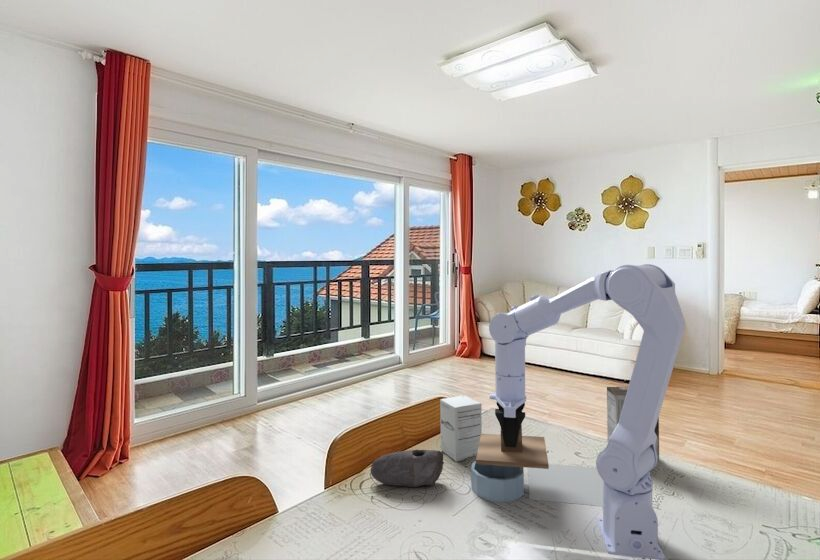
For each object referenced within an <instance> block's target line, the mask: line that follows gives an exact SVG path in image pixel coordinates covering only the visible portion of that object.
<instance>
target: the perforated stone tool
mask: <svg viewBox="0 0 820 560" xmlns="http://www.w3.org/2000/svg"><path fill="white" fill-rule="evenodd" d="M444 456H445V455H444V452H443V451H440V450H436V449H435V450H433V449H431V450H429V449H410V450H401V451H395V452H390V453H386V454H383V455H381V456H379V457H377V458H376V459H375V460H374V461H372V464H371V468H370V473H371V476H372V478H373V479H374V480H376V481H377V482H379V483H381V484H384V485H388V486H399V487H407V488H409V487H410V488H418V487H422V486H425V485H426V486H427V487H430V486H431V487H432V486H434V485H435V483H436V482H437V481H438V480H439V478H440V476H441V474H442V472H443V468H444V467H443V466H444V464H445V462H444Z"/></svg>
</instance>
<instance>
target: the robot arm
mask: <svg viewBox="0 0 820 560" xmlns="http://www.w3.org/2000/svg"><path fill="white" fill-rule="evenodd" d="M597 300H600V301H605V302H606V301H613V303H615V304H616V305H618V306H619V307H620V308H622V309H623V310H625V311H626V312H627V313H629V314H630V315H631V316H632V317H633V318H634V319H635V320H636V322H637V323H638V324H639V326H640V327H641V329H642V330H643V333H642V336H641V341H640V345H639V348H638V351H637V355H636V359H635V363H634V366H633V368H632V369H633V370H632V372H631V375H630V379H629V383H628V386H627V387H628V390H627V394H626V397H625V401H624V405H623V408H622V412H621V415H620V419H619V423H618V425H617V426H616V428H615V430H614V431H613V433H612V434H611V436H610V438H609V441H608V442H607V445H606V446H605V448H603V449H602V450H601V451H600V452H599V453H598V454H597V457H596V460H595V466H596V468H597V471H598V473H599V475H600V477H601V478H602V480H603V506H602V517H601V516H598V517H596V521H597V525H598V528H599V530H600V533H601V536H602V539H603V542H604V545H605V549H606V551H607V554H609V555H616V556H623V557H630V558H631V557H632V558H638V559H639V558H640V559H648V560H665V559H666V556H665V554H664V553H663V551H662V549H661V547H660V545H659V543H658V542H659V532H658V531H659V527H658V525H659V520H658V519H659V518H658V516H657V513H656V511H655V509H654V506H653V479H652V477H651V475H650V474H651V472H650V471H652V470H653V469H654V468H655V467H656V466H655V465H656V463H657V453H656V449H655V443H656V439H657V435H656V434H655V431H654V430H655V427H656V424H657V420H658V417H659V418H660V413H661V409H662V406H663V403H664V400H665V397H666V392H667V390H668V387H669V383H670V379H671V376H672V373H673V369H674V366H675V362H676V361H677V360H676V359H677V356H678V353H679V349H680V345H681V343H682V340H683V336H684V332H685V329H686V322H685V318H684V315H683V312H682V308H681V306H680V304H679V303H680V302H679V298H678V297H677V294H676V283H675V282H674V281H673V280H672V278H671V277H670V276H669V275H668V274H667V273H666V272H665V270H663V269H662V268H661V267H660V266H657V265H654V264H649V263H647V264H641V265H634V264H623V265H619V266H617V267H615V268H613V269H611V270H607V271H603V272H600V273H598V274H596V275H594V276H592V277H589V278H588V279H586V280H585V281H582V282H581V283H578V284H577V285H574V286H572V287H571V288H569V289H567V290H565V291H563V292H561V293H559V294H558V295H556V296H554V297H551V296H548V295H539V294H534V295H532V296H529V301H528V302H525V303H523V304H521V305H520V306H518V305H513V306H511V307H510V311H509V312H497V313H496V315H494V316H492V318H491V319H490V321H489V325H488V330H489V335H490V336H491V339H493V341H494V350H495V351H494V356H495V357H494V359H495V360H494V362H495V366H494V367H495V368H494V370H495V374H494V375H495V392H494V393H493V392H492V393H490V394H489V399H490V400H495V401H496V406H497V408H495V409H494V415H495V417H496V419H497V421H498V423H499V427H500V431H501V430H502V435H503V441H504V445H505V447H514V448H516V445H517V441H518V435H519V430H520V426H521V425H522V424H523V422H524V420H525V418H526V412H524V411H523V410H524V408H525V407H526V402H527V395H526V346H527V339H528V337H529V336H531V335H533V334H536V333H538V332H541V331H542V330H545V329H548V328H550V327H552V326H555V325H557V324H558V323H559V322H560V319H561V315H562V314H565V313H567V312H569V311H571V310H574V309H577V308H580V307H581V306H585V305H587V304H590V303H592V302H594V301H597Z"/></svg>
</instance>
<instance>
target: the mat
mask: <svg viewBox="0 0 820 560" xmlns="http://www.w3.org/2000/svg"><path fill="white" fill-rule="evenodd" d="M548 464H549V469H542V468H527V467H526V469H527V480H528V481H527V484H528V494H529V495H528V496H529V497H528V498H529V500H533V501H534V500H535V501H546V502H553V503H554V502H555V503H563V504H564V503H565V504H567V503H568V504H575V505H585V506H594V507H603V480H602V478H601V477H600V475H599V473H598V471H597V467H595V466H594V467H593V466H583V465H582V466H579V465H571V464H569V465H568V464H557V463H548Z"/></svg>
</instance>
